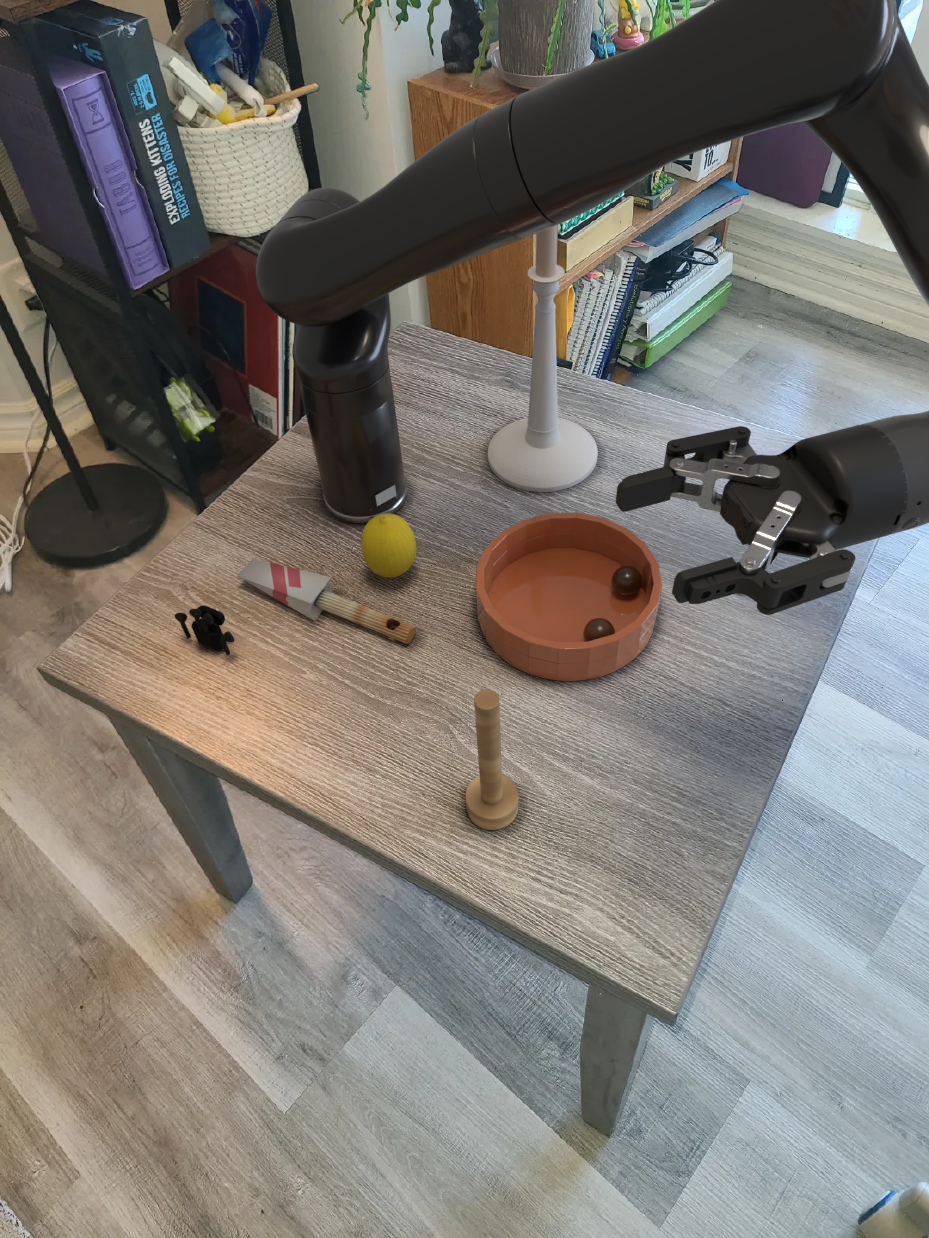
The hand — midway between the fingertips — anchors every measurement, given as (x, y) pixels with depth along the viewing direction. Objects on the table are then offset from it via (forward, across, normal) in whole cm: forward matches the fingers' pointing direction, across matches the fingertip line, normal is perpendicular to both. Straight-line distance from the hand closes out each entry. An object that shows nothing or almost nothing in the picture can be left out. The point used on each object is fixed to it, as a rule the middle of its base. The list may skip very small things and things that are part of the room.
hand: (645, 541), depth 56 cm
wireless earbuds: (+31, -26, +28) cm, 49 cm away
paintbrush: (+20, -27, +28) cm, 44 cm away
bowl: (-3, -18, +28) cm, 34 cm away
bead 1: (-4, -13, +26) cm, 29 cm away
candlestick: (-9, -41, +28) cm, 51 cm away
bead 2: (-9, -18, +26) cm, 33 cm away
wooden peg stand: (+11, 0, +28) cm, 30 cm away
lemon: (+12, -29, +28) cm, 42 cm away
